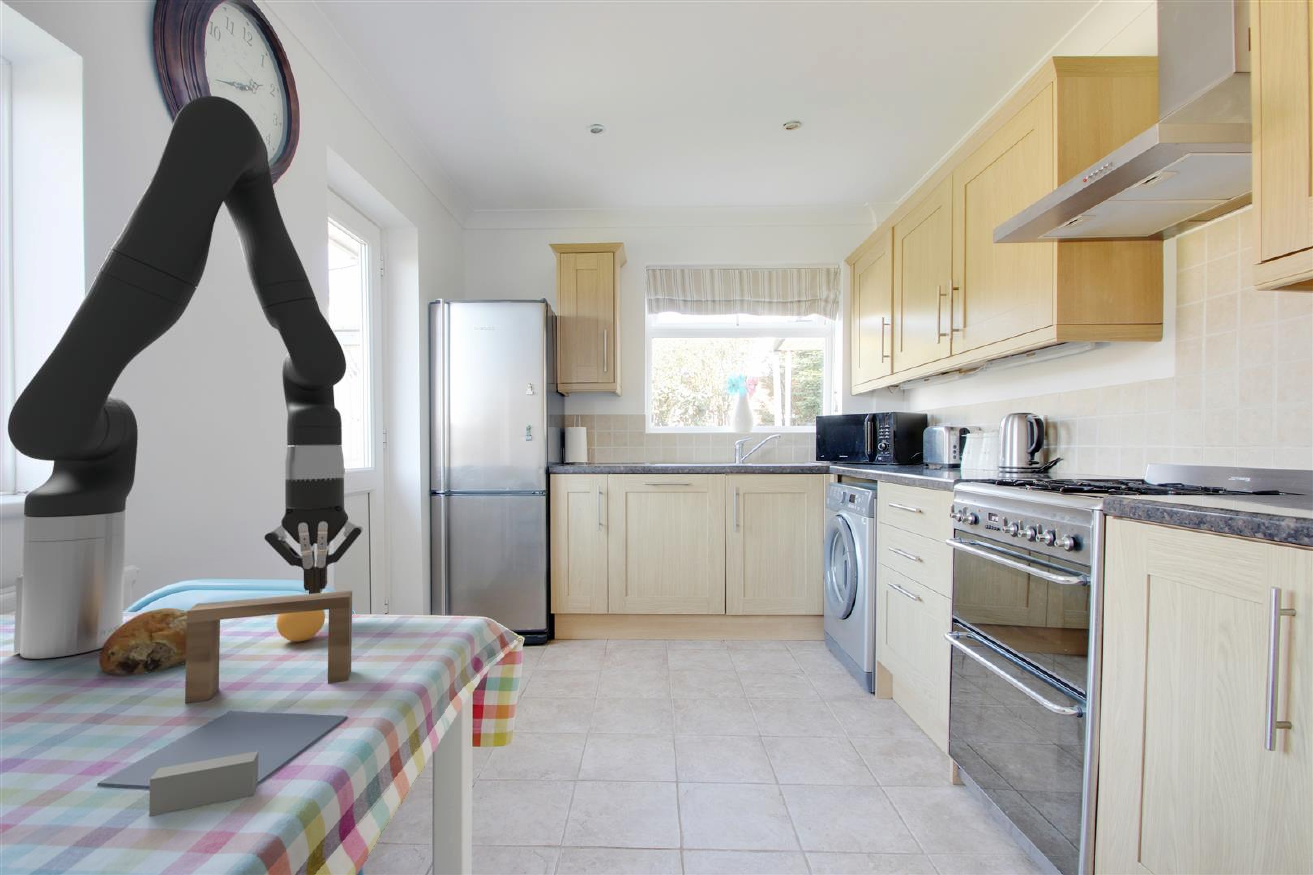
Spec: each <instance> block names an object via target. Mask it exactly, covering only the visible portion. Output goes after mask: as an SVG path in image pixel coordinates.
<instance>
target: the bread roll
mask: <svg viewBox="0 0 1313 875" xmlns="http://www.w3.org/2000/svg"><path fill="white" fill-rule="evenodd" d="M187 611H188V610H184V609H179V608H172V607H171V608H170V607H165V608H158V609H153V610H150V611H149V610H148V611H145V612H143V613H140V614H139V615H137V616H134V617H132V618H130V619H129V620H128V621H126V622H125V623H123V625H122V626H121V627H120V628H119V629H117V630H116V631H115V632H114V633H113V634H112V635H111V636H110V637H109V638H108V639H107V641H106V642H105V643H104V645H103V648H101V651H100V654H99V661H98V663H99V667H100V668H101V670H102V671H103V673H105V674H108V675H110V676H113V675H116V676H121V675H123V676H128V675H141V674H145V673H146V672H148V673H152V672H156V671H162V670H166V669H170V668H174V667H176V666H180V665H183V664H184V663H185V664H186V634H187ZM146 674H147V673H146Z"/></svg>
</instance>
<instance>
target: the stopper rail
mask: <svg viewBox="0 0 1313 875" xmlns="http://www.w3.org/2000/svg"><path fill="white" fill-rule="evenodd" d="M258 752H259V751H256V752H250V753H245V754H239V755H233V756H227V757H221V758H216V759H210V760H204V761H198V762H192V763H187V764H181V765H175V766H169V767H164V768H159V769H158V770H157V771H156V772H155V774H154V775H153V776H152V777H151V779H150V789H149V800H148V801H149V804H148V805H149V808H148V816H149V817H151V816H156V815H160V814H166V813H170V812H171V813H172V812H176V811H181V810H186V809H190V808H196V807H201V806H207V805H211V804H216V803H221V802H227V801H232V800H236V799H241V798H246V797H252V796H254V794H255V791H256V790H257V787H258V785H259V784H258Z"/></svg>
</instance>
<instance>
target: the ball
mask: <svg viewBox="0 0 1313 875" xmlns="http://www.w3.org/2000/svg"><path fill="white" fill-rule="evenodd" d="M277 615H278V616H277V618H276V628H277V631H278V633H279V635H280V636H281V637H283V639H285V640H287V641H290V642H296V643H297V642H305V641H308V640H310V639H312V638H314V637H315V636H316V635H317V634H318V633H319V632H321V629H322V628H323V627H324V624H325V619H326V613H325V610H318V611H307V612H297V613H286V614H277Z"/></svg>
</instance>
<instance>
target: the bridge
mask: <svg viewBox="0 0 1313 875" xmlns="http://www.w3.org/2000/svg"><path fill="white" fill-rule="evenodd" d="M318 610H324V611H326V610H328V630H327V631H328V633H327V634H328V635H327V636H328V637H327V638H328V639H327V640H328V641H327V642H328V643H327V644H328V645H327V647H328V648H327V652H328V653H327V684H332V683H338V682H346V681H349V679H350V677H351V672H352V641H353V640H352V637H353V636H352V635H353V633H352V632H353V630H352V629H353V627H352V625H353V590H344V591H343V590H341V591H331V592H329V591H328V592H321V593H317V594H309V593H307V594H296V595H295V594H294V595H284V596H273V597H260V598H259V597H258V598H249V599H236V600H224V601H222V600H221V601H215V602H201V603H200V602H199V603H197V604H195V605H194V606H192V607H191V608H189V609H187V610H186V611H187V634H186V663H185V686H184V688H185V691H184V696H185V697H184V704H188V703H194V702H203V701H208V700H209V701H210V700H211V699H212V697H213V696H214V695H215V694H216V693H217V692H218V690H219V689H220V654H221V653H220V652H221V651H220V649H221V648H220V645H221V642H220V641H221V638H220V637H221V620H230V619H232V620H233V619H242V618H251V617H252V618H253V617H254V618H255V617H263V616H264V617H265V616H271V615H272V616H274V615H279V614H286V613H297V612H307V611H318Z"/></svg>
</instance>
